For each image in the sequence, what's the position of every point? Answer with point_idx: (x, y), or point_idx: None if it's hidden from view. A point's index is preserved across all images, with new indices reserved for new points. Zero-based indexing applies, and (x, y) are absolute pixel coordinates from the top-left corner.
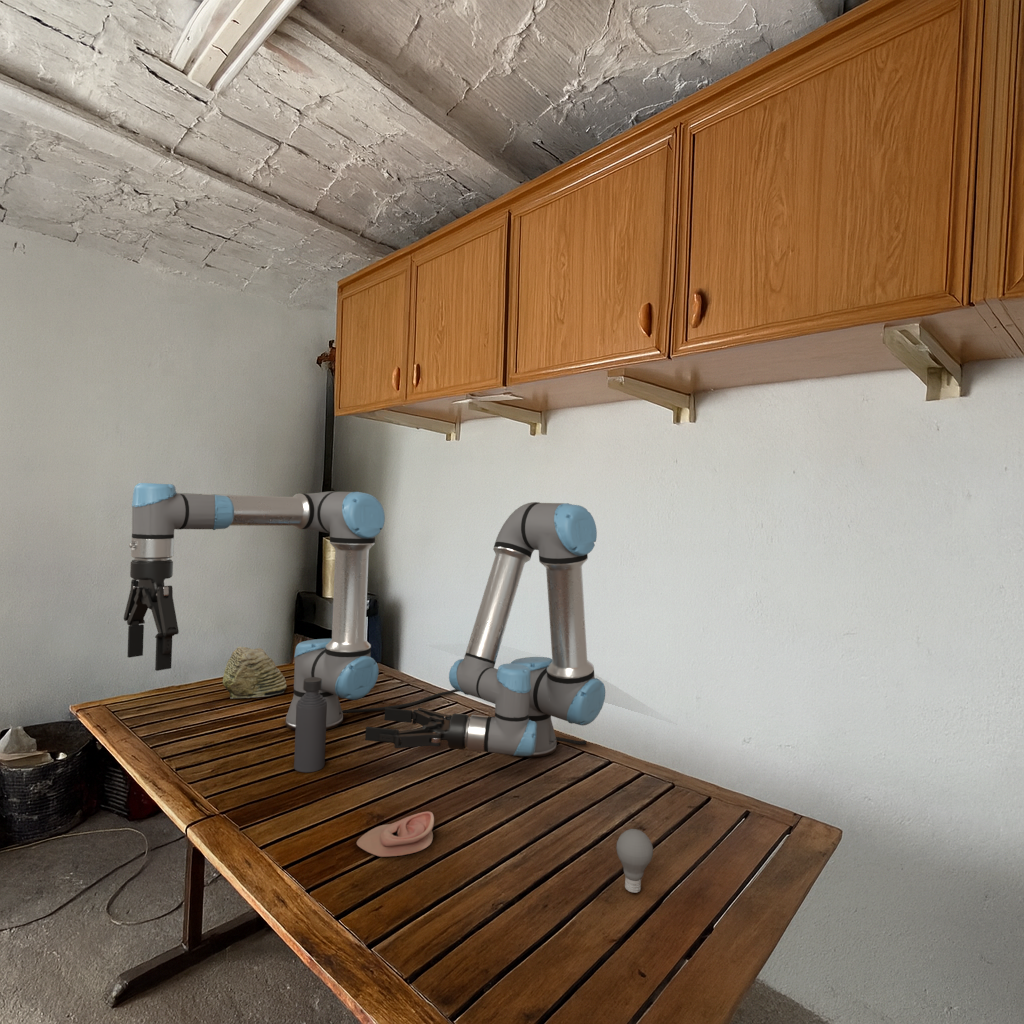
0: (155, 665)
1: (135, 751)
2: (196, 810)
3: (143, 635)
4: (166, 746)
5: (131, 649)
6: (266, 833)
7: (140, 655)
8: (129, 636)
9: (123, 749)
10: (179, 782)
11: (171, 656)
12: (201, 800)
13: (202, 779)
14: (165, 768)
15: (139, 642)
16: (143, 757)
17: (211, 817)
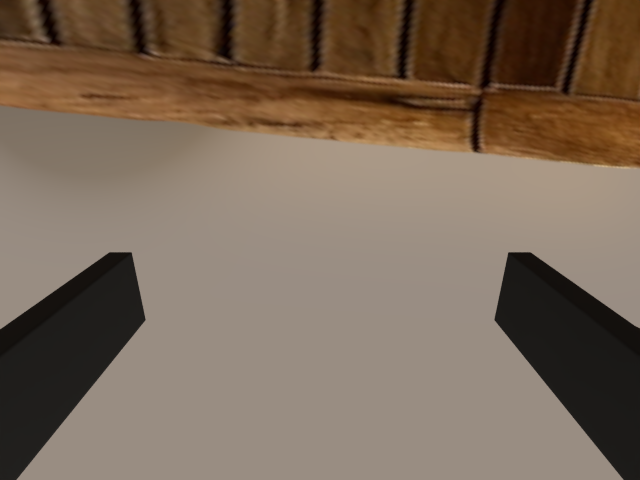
0: (509, 335)
1: (61, 82)
2: (436, 115)
3: (40, 326)
4: (64, 9)
5: (120, 337)
6: (619, 65)
7: (131, 265)
8: (60, 419)
9: (34, 97)
10: (296, 83)
11: (579, 287)
12: (406, 89)
13: (315, 38)
14: (204, 73)
15: (83, 318)
16: (110, 83)
17: (483, 108)
